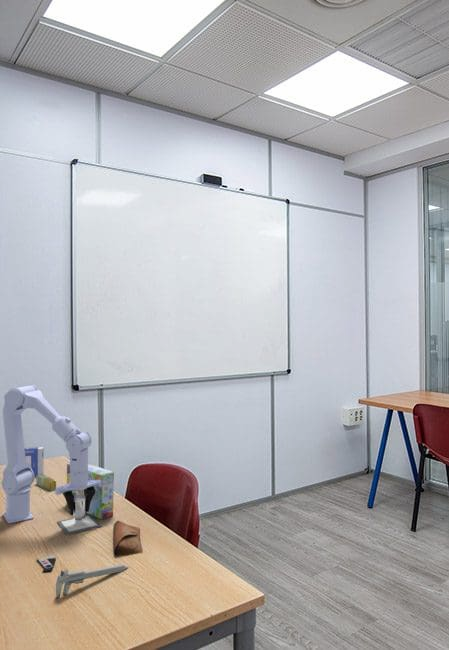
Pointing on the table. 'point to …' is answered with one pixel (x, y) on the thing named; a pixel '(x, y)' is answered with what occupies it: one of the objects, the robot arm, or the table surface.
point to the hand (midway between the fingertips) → (79, 512)
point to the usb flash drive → (47, 563)
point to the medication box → (46, 482)
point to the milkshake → (79, 509)
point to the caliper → (82, 577)
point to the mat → (71, 528)
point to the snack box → (99, 491)
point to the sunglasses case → (126, 539)
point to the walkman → (35, 459)
